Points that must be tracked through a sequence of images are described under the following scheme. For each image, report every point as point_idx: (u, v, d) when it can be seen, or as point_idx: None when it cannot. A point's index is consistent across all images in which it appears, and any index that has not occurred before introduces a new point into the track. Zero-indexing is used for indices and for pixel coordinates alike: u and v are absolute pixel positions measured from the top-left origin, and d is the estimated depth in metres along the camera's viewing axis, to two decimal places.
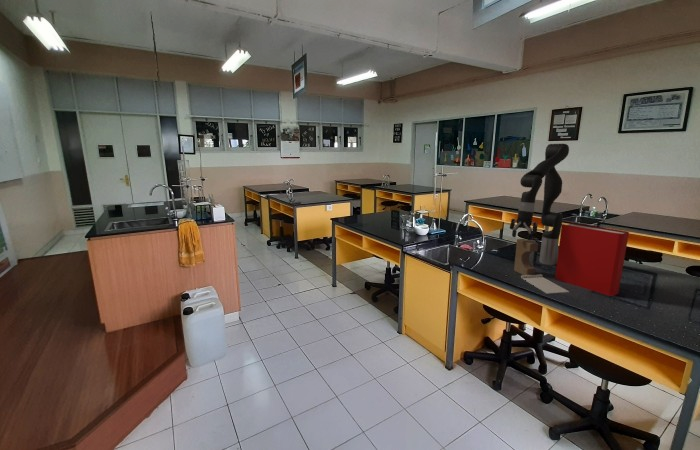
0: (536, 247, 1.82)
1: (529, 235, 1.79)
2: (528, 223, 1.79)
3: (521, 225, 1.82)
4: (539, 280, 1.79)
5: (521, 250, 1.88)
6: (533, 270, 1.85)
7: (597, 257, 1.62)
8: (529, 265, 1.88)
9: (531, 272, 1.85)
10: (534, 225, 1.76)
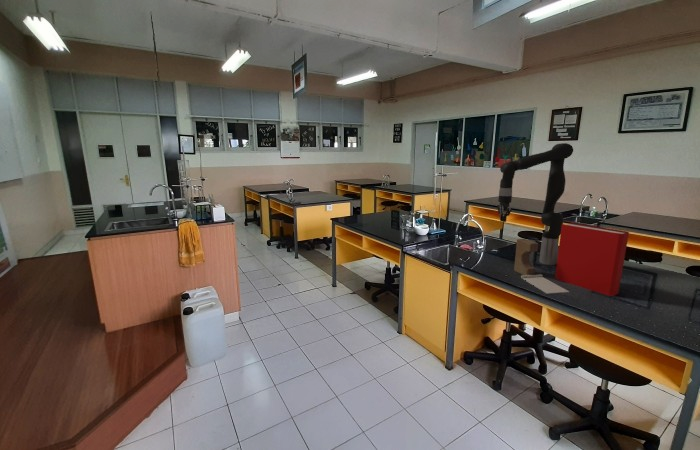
0: (536, 247, 1.82)
1: (503, 217, 2.05)
2: (505, 208, 2.02)
3: None
4: (539, 280, 1.79)
5: (521, 250, 1.88)
6: (533, 270, 1.85)
7: (597, 257, 1.62)
8: (529, 265, 1.88)
9: (531, 272, 1.85)
10: (507, 210, 2.00)
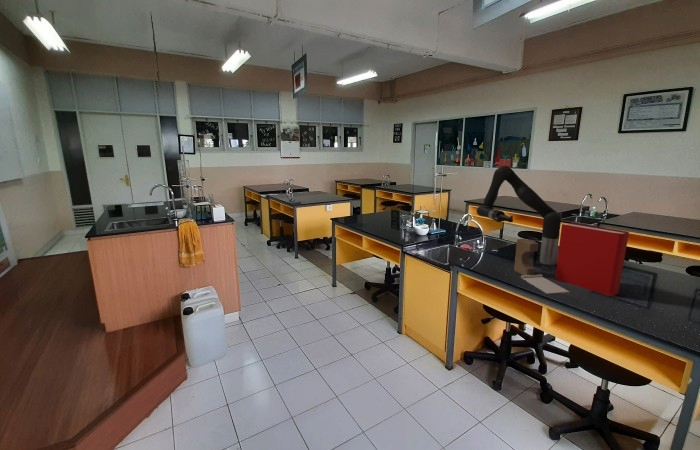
0: (536, 247, 1.82)
1: None
2: None
3: None
4: (539, 280, 1.79)
5: (521, 250, 1.88)
6: (533, 270, 1.85)
7: (597, 257, 1.62)
8: (529, 265, 1.88)
9: (531, 272, 1.85)
10: (497, 220, 2.08)
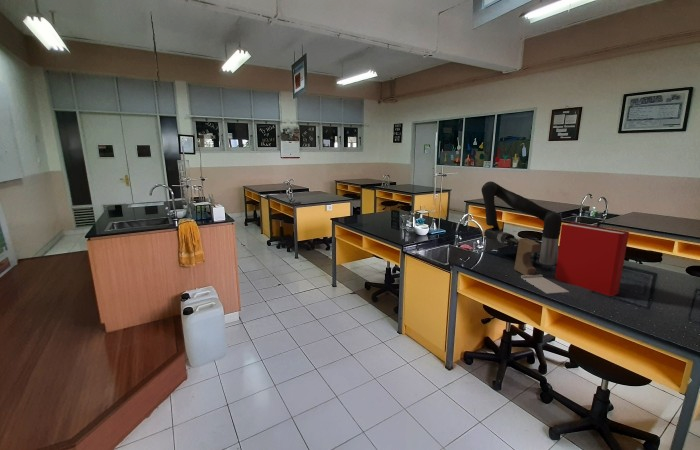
0: (538, 248, 1.81)
1: None
2: None
3: None
4: (539, 280, 1.79)
5: (522, 250, 1.87)
6: (533, 270, 1.85)
7: (597, 257, 1.62)
8: (530, 265, 1.87)
9: (532, 272, 1.85)
10: None
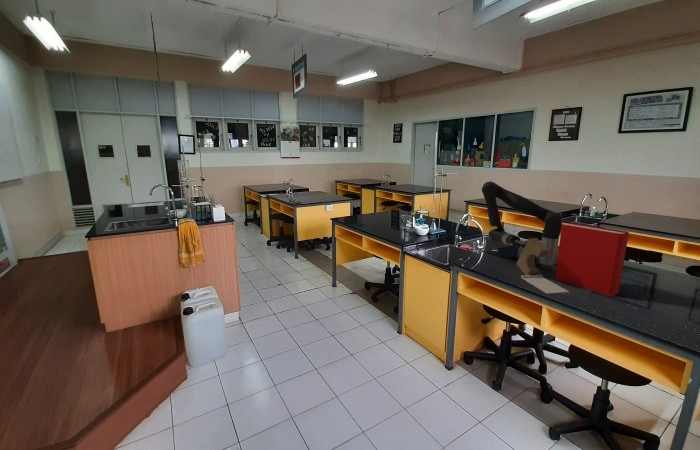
0: (546, 253, 1.76)
1: None
2: None
3: None
4: (539, 280, 1.79)
5: (529, 251, 1.82)
6: (535, 271, 1.84)
7: (597, 257, 1.62)
8: (533, 265, 1.85)
9: (533, 273, 1.84)
10: None
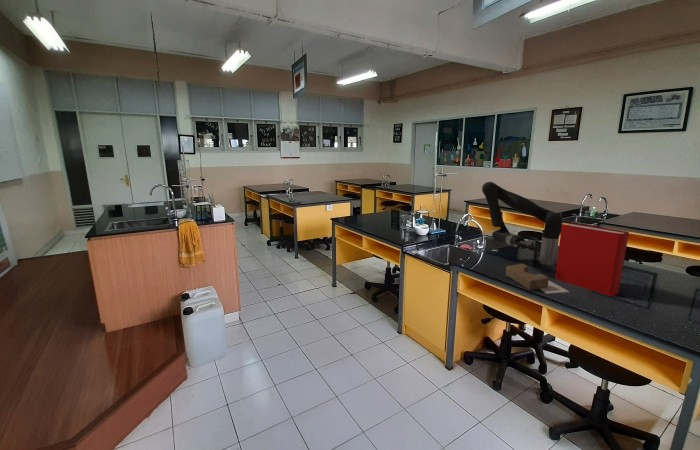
0: None
1: (529, 249, 1.84)
2: None
3: None
4: None
5: None
6: None
7: (597, 257, 1.62)
8: (525, 271, 1.81)
9: None
10: None
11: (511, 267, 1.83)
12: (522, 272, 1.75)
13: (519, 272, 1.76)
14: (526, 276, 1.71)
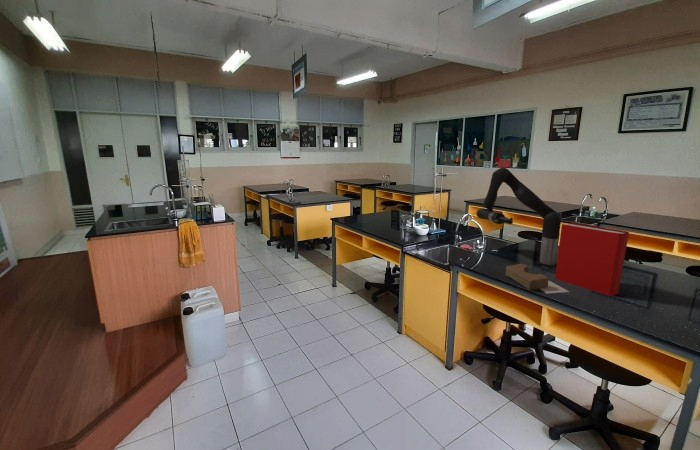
0: None
1: None
2: None
3: None
4: None
5: None
6: None
7: (597, 257, 1.62)
8: (525, 271, 1.81)
9: None
10: None
11: (511, 267, 1.83)
12: (522, 272, 1.75)
13: (519, 272, 1.76)
14: (526, 276, 1.71)
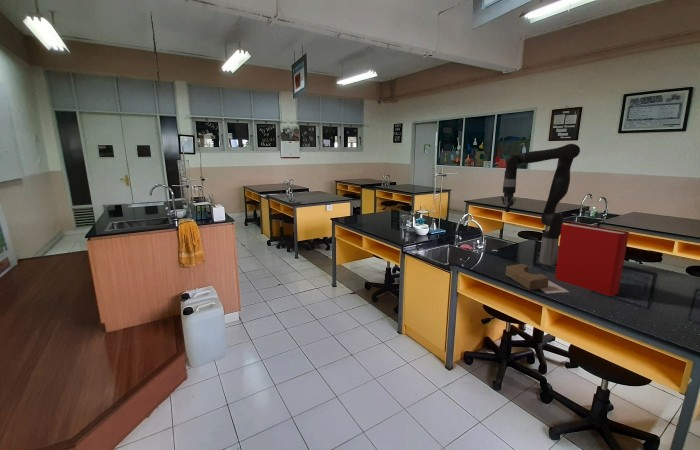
0: None
1: (506, 208, 2.11)
2: (509, 198, 2.08)
3: None
4: None
5: None
6: None
7: (597, 257, 1.62)
8: (525, 271, 1.81)
9: None
10: (511, 201, 2.06)
11: (511, 267, 1.83)
12: (522, 272, 1.75)
13: (519, 272, 1.76)
14: (526, 276, 1.71)
